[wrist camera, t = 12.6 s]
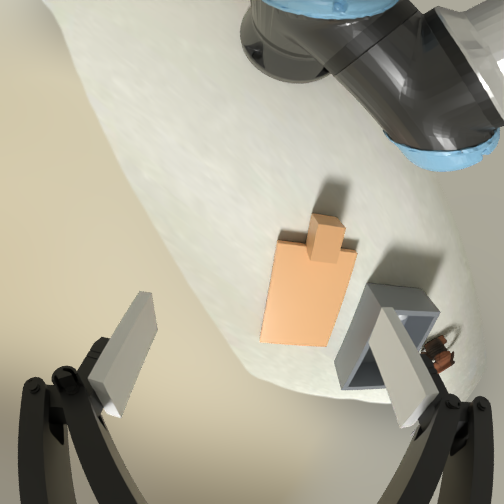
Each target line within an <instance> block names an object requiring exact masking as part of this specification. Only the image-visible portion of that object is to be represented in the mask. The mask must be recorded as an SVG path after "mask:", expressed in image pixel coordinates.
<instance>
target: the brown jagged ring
mask: <svg viewBox="0 0 504 504" xmlns="http://www.w3.org/2000/svg"><path fill="white" fill-rule="evenodd" d="M445 343H447V340H446V339H445V338H444V336H443V335H442V336H440V337H438V338H436V339H433V340H431V341H430V342H428V343H427V344H425V345H424V346H425V348H426V352H421V354H425V355H426V356H427V357H429V358H430V359H431V361H432V359H434V360H435V362H434V363H433V362H432V363H433V365H434V366H435V368H436V370H437V372H438V374H439V373H441V372H442V371H444V370H445V369H447V368H449V367H450V366H452V365H453V364H454V363H455V361H453V358H454V352H452V353H450V351H447V349H446V348H445V346H444V344H445Z"/></svg>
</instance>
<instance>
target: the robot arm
mask: <svg viewBox="0 0 504 504" xmlns="http://www.w3.org/2000/svg"><path fill="white" fill-rule="evenodd" d="M240 37H241V43H242V47H243V50H244V52H245V54H246V56H247V58H248V59H249V60H250V62H251V63H252V64H253V65H254V66H255V67H256V68H257V69H258V70H260V71H261V72H263V73H264V74H266V75H268V76H269V77H272V78H274V79H276V80H279V81H283V82H288V83H309V82H314V81H317V80H320V79H322V78H324V77H326V76H328V75H329V74H332V75H333V76H334V77H335V78H336V79H337V80H338V81H339V82H340V83H341V84H342V85H343V86H344V87H345V88H346V89H347V90H348V91H349V92H350V93H351V94H352V95H353V96H354V97H355V98H356V99H357V100H358V101H359V102H360V103H361V105H362V106H363V107H364V108H365V109H366V110H367V111H368V112H369V113H370V114H371V116H372V117H373V118H374V119H375V120H376V121H377V123H378V124H379V125H380V126H381V127H382V128H383V132H384V134H385V135H386V136H387V138H388V139H389V140H390V141H391V142H393V143H394V144H395V145H397V147H398V148H399V149H400V150H401V151H402V153H403V154H404V155H405V156H406V158H407V159H408V160H410V161H411V162H412V163H414V164H415V165H417V166H418V167H420V168H423V169H426V170H430V171H437V172H446V171H454V170H460V169H464V168H467V167H469V166H472V165H474V164H476V163H478V162H480V161H481V160H482V159H483V156H482V155H484V154H487V155H488V154H490V153H491V152H492V151H493V150H494V149H495V148H496V146H497V144H498V141H499V138H500V127H502V126H504V0H486V1H484V2H482V3H480V4H478V5H476V6H474V7H473V8H471V9H469V10H467V11H464V12H457V11H454V10H450V9H447V8H443V7H440V6H437V7H435V8H433V9H432V10H430V11H428V12H427V13H425V14H422V13H421V12H420V11H419V10H418V9H417V8H416V7H415V6H414V5H413V4H412V3H411V2H410V1H409V0H251V7H250V8H249V10H248V11H247V12H246V14H245V16H244V18H243V20H242V23H241V28H240ZM157 330H158V328H157V323H156V317H155V311H154V304H153V298H152V293H150V292H142V291H140V292H139V293H138V295H137V296H136V298H135V299H134V301H133V302H132V304H131V305H130V307H129V308H128V310H127V312H126V313H125V315H124V317H123V318H122V320H121V321H120V323H119V325H118V326H117V328H116V330H115V331H114V333H113V335H112V336H111V338H104V337H101V338H100V339H99V340H97V341H96V342H95V343H94V344H93V346H92V347H91V349H90V351H89V352H88V354H87V357H85V359H84V361H83V362H82V364H81V366H80V367H79V369H78V371H76V369H75V368H73V367H71V366H62V367H60V368H58V369H57V370H55V371H54V373H53V375H52V382H53V384H54V385H46V384H45V382H44V381H43V379H41V378H39V377H34V378H30V379H29V380H27V381H26V382H25V384H24V387H23V392H22V400H21V409H20V419H19V436H18V474H19V475H18V476H19V491H20V501H21V504H77V503H76V499H75V493H74V487H73V481H72V474H71V467H70V457H69V445H68V430H67V425H68V428H69V431H70V434H71V438H72V441H73V443H74V446H75V449H76V452H77V455H78V458H79V460H80V463H81V465H82V468H83V470H84V472H85V475H86V477H87V480H88V482H89V484H90V486H91V489H92V491H93V493H94V495H95V497H96V499H97V501H98V503H99V504H147V502H146V501H145V499H144V497H143V496H142V494H141V492H140V491H139V489H138V487H137V486H136V484H135V483H134V481H133V479H132V477H131V475H130V473H129V472H128V470H127V468H126V466H125V464H124V462H123V460H122V458H121V456H120V454H119V452H118V451H117V448H116V446H115V444H114V442H113V440H112V438H111V436H110V433H109V431H108V429H107V426H106V424H105V422H104V419H103V417H102V415H101V412H102V410H103V408H104V409H105V411H106V413H107V414H109V415H113V416H116V417H119V418H121V417H122V415H123V412H124V410H125V407H126V404H127V402H128V399H129V397H130V394H131V392H132V389H133V387H134V384H135V382H136V380H137V377H138V375H139V372H140V370H141V368H142V365H143V363H144V360H145V358H146V356H147V353H148V351H149V349H150V346H151V344H152V342H153V340H154V337H155V335H156V333H157ZM369 345H370V347H371V350H372V352H373V355H374V357H375V360H376V363H377V365H378V368H379V370H380V373H381V376H382V378H383V381H384V384H385V386H386V389H387V392H388V395H389V398H390V400H391V403H392V406H393V409H394V412H395V415H396V418H397V421H398V424H399V427H400V428H404V427H409V426H412V425H413V424H414V423H415V422H416V421H417V420H419V423H420V425H419V426H418V427H417V428H416V429H415V430H414V431H413V432H412V434H411V435H410V436H412V435H413V434H414V433H415V434H414V436H413V438H412V441H411V443H410V445H409V447H408V449H407V451H406V454H405V455H404V457H403V459H402V461H401V463H400V465H399V467H398V469H397V471H396V473H395V475H394V476H393V478H392V480H391V482H390V483H389V485H388V487H387V488H386V490H385V492H384V493H383V495H382V497H381V498H380V500H379V501H378V503H377V504H429V502H430V500H431V498H432V496H433V494H434V491H435V489H436V487H437V484H438V482H439V480H440V477H441V475H442V472H443V475H442V482H441V488H440V493H439V498H438V503H437V504H491V497H492V487H493V471H494V440H493V422H492V411H491V405H490V403H489V401H488V400H487V399H486V398H485V397H482V396H478V397H476V398H475V399H474V400H473V401H472V402H461V401H460V399H459V398H458V397H457V396H455V395H454V394H449V393H448V391H447V389H446V387H445V385H444V383H443V382H442V380H441V378H440V376H439V374H438V372H437V370H436V368H435V366H434V365H433V363H432V361H431V359H430V358H429V357H427V356H426V355H425V354H419V352H418V350H417V349H416V347H415V345H414V343H413V341H412V340H411V338H410V336H409V334H408V332H407V331H406V329H405V327H404V326H403V324H402V322H401V320H400V319H399V317H398V315H397V314H396V312H395V310H394V309H393V307H382V308H381V311H380V314H379V316H378V319H377V322H376V324H375V327H374V329H373V332H372V334H371V337H370V339H369Z"/></svg>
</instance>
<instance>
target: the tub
mask: <svg viewBox="0 0 504 504" xmlns="http://www.w3.org/2000/svg"><path fill="white" fill-rule="evenodd" d="M382 307H393V309H394V310H395V312H396V314H397V315H398V317H399V319H400V320H401V322H402V324H403V326H404V327H405V329H406V331H407V332H408V334H409V336H410V338H411V340H412V341H413V343H414V345H415V347H416V349H417V350H418V352H419V350H420V349H421V347H422V345H423V344H424V342H425V340H426V338H427V337H428V335H429V333H430V331H431V329H432V328H433V326H434V324H435V322H436V320H437V318H438V316H439V314H440V311H439V309H438V308H437V307H436V306H435V304H434V303H433V302H432V301H431V300H430V298H429V297H428V296H427V295H426V293H425V292H424V291H423V290H422V289H419V288H409V287H400V286H391V285H381V284H372V283H366V286H365V288H364V291H363V294H362V296H361V299H360V302H359V304H358V307H357V309H356V312H355V315H354V317H353V320H352V322H351V324H350V327H349V329H348V332H347V334H346V336H345V339H344V341H343V343H342V346H341V348H340V350H339V352H338V354H337V357H336V359H335V361H334V364H335V367H336V371H337V375H338V379H339V383H340V387H341V390H363V389H382V388H386V386H385V384H384V381H383V378H382V376H381V373H380V370H379V368H378V365H377V363H376V360H375V357H374V355H373V352H372V350H371V347H370V345H369V339H370V337H371V334H372V332H373V329H374V327H375V324H376V322H377V319H378V316H379V314H380V311H381V308H382Z"/></svg>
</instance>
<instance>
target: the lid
mask: <svg viewBox="0 0 504 504" xmlns="http://www.w3.org/2000/svg"><path fill="white" fill-rule="evenodd" d="M345 230H346V228H345V227H344V225H343V224H342V223H341V222H340V220H339V219H338V218H337V217H333V216H327V215H320V214H314V213H312V215H311V220H310V225H309V230H308V235H307V240H306V244H304V243H296V242H289V241H281V240H277V245H276V250H275V256H274V262H273V268H272V273H271V279H270V285H269V290H268V296H267V301H266V307H265V312H264V318H263V323H262V328H261V334H260V342H263V343H274V344H287V345H301V346H320V347H326V346H327V344H328V341H329V338H330V336H331V333H332V330H333V328H334V325H335V322H336V319H337V316H338V314H339V311H340V308H341V305H342V302H343V299H344V296H345V293H346V290H347V287H348V283H349V280H350V277H351V274H352V271H353V267H354V264H355V260H356V257H357V252H356V251H355V250H349V249H342V248H341V246H342V242H343V238H344V234H345Z"/></svg>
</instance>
